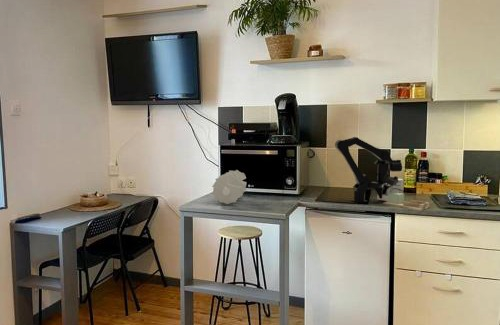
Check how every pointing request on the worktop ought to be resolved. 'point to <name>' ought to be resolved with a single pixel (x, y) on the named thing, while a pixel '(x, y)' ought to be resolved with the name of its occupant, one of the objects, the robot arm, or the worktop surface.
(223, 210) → the worktop surface
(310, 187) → the worktop surface
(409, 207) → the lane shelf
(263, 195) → the worktop surface
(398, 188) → the ink box
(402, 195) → the sage block
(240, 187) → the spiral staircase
